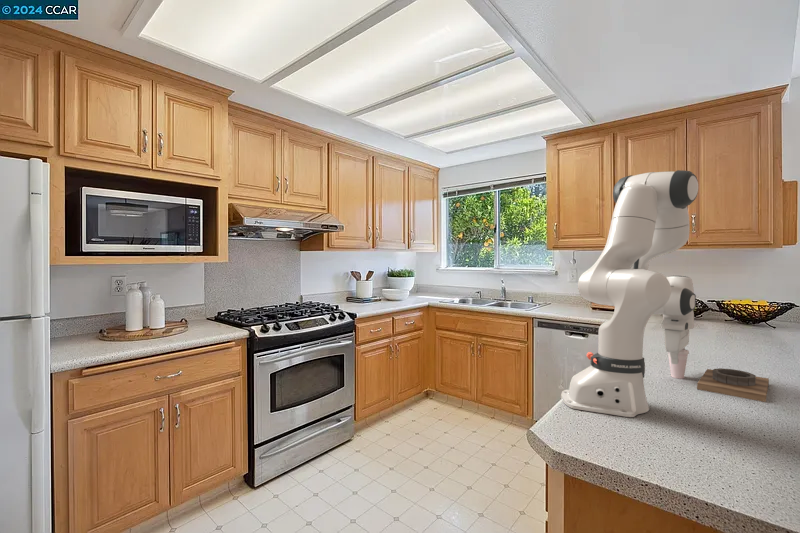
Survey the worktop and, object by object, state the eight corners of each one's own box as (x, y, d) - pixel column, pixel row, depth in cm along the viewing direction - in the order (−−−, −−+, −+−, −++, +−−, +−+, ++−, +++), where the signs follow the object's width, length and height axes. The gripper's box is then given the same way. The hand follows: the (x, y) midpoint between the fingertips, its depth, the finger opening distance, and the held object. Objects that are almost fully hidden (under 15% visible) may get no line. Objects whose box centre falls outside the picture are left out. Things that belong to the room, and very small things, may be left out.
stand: (766, 402, 113) (766, 386, 113) (697, 389, 124) (697, 375, 124) (768, 384, 128) (768, 370, 128) (707, 374, 140) (707, 361, 140)
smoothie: (692, 380, 133) (693, 339, 133) (671, 379, 134) (672, 338, 134) (683, 374, 139) (683, 335, 139) (663, 373, 141) (663, 335, 140)
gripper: (673, 317, 146) (672, 354, 146) (660, 324, 131) (660, 365, 132) (694, 319, 141) (693, 357, 142) (683, 326, 127) (683, 368, 127)
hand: (677, 361), depth 137 cm, fingers open, 8 cm apart
